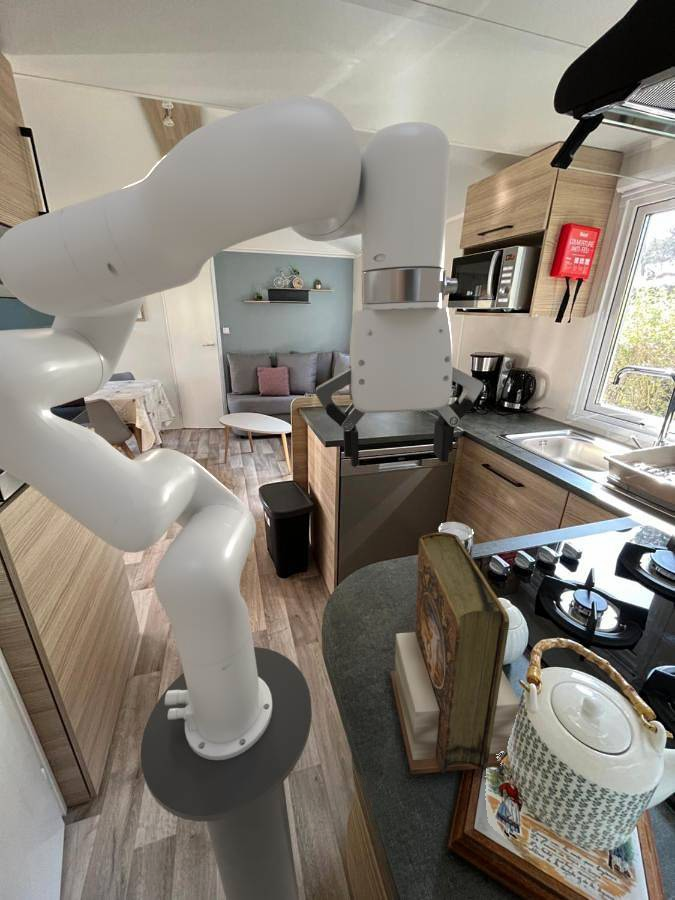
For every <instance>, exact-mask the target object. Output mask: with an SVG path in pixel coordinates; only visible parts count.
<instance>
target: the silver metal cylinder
mask: <svg viewBox="0 0 675 900" xmlns="http://www.w3.org/2000/svg"><path fill="white" fill-rule="evenodd" d="M437 532H444V533H451V534H454V535H457V536H458V537H459V539H460V540H461V542H462V543H463V545H464V547H465V548H466V550H467V551H468V553H469V554H470V556H471V557H472V558H473V549H474V531H473V529H472V528H471V527H470V526H469V525H467V524H464V523H462V522H458V521H446V522H442V523H441V524H439V526H438V527H437Z"/></svg>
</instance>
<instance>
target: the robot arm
mask: <svg viewBox="0 0 675 900" xmlns="http://www.w3.org/2000/svg"><path fill="white" fill-rule="evenodd" d="M450 164H451V145H450V142H449V139H448V136H447V134H446V133H445V132H444V130H442V129H441V128H440V127H438V126H437V125H435V124H432V123H427V122H419V121H408V122H400V123H396V124H391V125H389V126H385V127H383V128H381V129H378V130H377V131H375V132H374V133H373V134H372V135H371V136H370V137H369V138H368V139H367V141H366V142H365V143H364V146H363V148H362V150H361V147H360V143H359V139H358V137H357V134H356V132H355V130H354V127H353V125H352V124H351V122H350V121H349V119H348V118H347V117H346V115H344V113H343V112H342V111H341V110H339V108H337V107H336V106H335V105H334V104H333V103H331V102H329V101H326V100H324V99H323V98H318V97H312V96H308V95H306V96H305V95H302V96H301V95H298V96H297V95H295V96H287V97H281V98H277V99H274V100H273V99H272V100H270V101H266V102H263V103H261V104H257V105H255V106H251V107H248V108H245V109H244V110H239V111H237V112H234V113H231V114H228V115H226V116H222V117H220V118H218V119H215V120H212V121H211V122H208V123H206V124H204V125H202V126H200V127H199V128H196V129H195V130H193V131H192V132H190V133H189V134H187V135H186V136H184V137H183V138H182V139H181V140H180V141H179V142H178V143H176V144H175V145H174V146H173V147H172V148H171V149H170V151H168V152H167V153H166V154H165V156H163V157H162V158H161V159H160V160H159V161H158V162H157V163H156V164H155V165H154V166H153V167H152V169H150V172H149V173H148V174H147V175H146V176H145V177H144V178H143V179H142V180H139V181H137V182H135V183H132V184H129V185H127V186H124V187H120V188H118V189H115V190H112V191H109V192H107V193H106V192H105V193H104V194H101V195H98V196H95V197H92V198H89V199H86V200H83V201H79V202H77V203H74V204H71V205H68V206H65V207H62V208H59V209H56V210H53V211H50V212H47V213H45V214H42V215H39V216H38V215H37V216H36V217H33V218H30V219H27V220H25V221H24V220H23V221H22V222H20V223H18V224H16V225H14V226H12V227H11V228H9V229H8V230H6V231H5V232H4V234H3V235H2V236H1V237H0V280H1V282H2V284H3V285H4V286H5V288H6V289H7V290H8V291H9V292H10V294H12V295H13V297H15V298H16V299H18V300H19V301H20V302H21V303H23V304H24V305H26V306H27V307H29V308H30V309H33V310H35V311H37V312H39V313H41V314H46V315H48V316H49V315H50V316H54V318H53V319H54V320H53V322H52V324H51V327H42V328H41V327H40V328H24V329H23V328H22V329H20V328H19V329H5V330H4V329H3V330H0V470H2V471H4V472H6V473H8V474H10V475H11V476H13V477H15V478H17V479H18V480H20V481H22V482H24V483H25V484H27V485H29V486H30V487H31V488H33V489H34V490H36V491H37V492H38V493H40V494H41V495H42V496H44V497H45V498H46V500H48V501H49V502H50V503H52V504H53V505H55V506H56V507H57V508H59V509H60V510H61V511H63V512H64V513H66V514H67V515H68V516H69V517H71V518H72V519H73V520H75V521H76V522H78V523H79V524H80V525H81V526H83V527H84V528H86V529H87V530H88V531H89V532H90V533H92V534H93V535H95V536H96V537H97V538H99V539H100V540H102V542H105V543H106V544H108V545H109V546H111V547H113V548H114V549H116V550H118V551H122V552H124V553H134V554H135V553H140V552H144V551H146V550H147V549H150V548H151V547H153V545H155V544H156V543H157V542H158V541H160V540H161V539H162V537H163V536H164V535H166V533H167V532H168V531H169V529H170V528H171V527H172V526H173V525H174V524H175V523H176V524H177V525H178V526H180V527H181V530H180V531H179V532H178V533H177V535H176V536H175V538H174V539H172V541H171V543H170V544H169V546H168V547H167V548H166V550H165V551H164V552H163V555H162V556H161V558H160V559H159V563H158V565H157V567H156V570H155V575H154V580H153V581H154V583H153V584H154V585H153V586H154V590H155V595H156V597H157V600H158V601H159V604H160V605H161V607H162V608H163V611H164V612H165V614H166V616H167V618H168V620H169V623H170V626H171V628H172V632H173V635H174V640H175V643H176V647H177V652H178V655H179V660H180V663H181V667H182V672H183V673H184V676H185V680H186V685H187V689H188V690H169V691H167V693H166V696H165V705H166V706H169V705H179V704H186V705H187V706H186V707H185V708H170V709H169V711H168V720H174V719H180V718H184V720H185V734H186V738H187V741H188V743H189V746H190V747H191V748H192V750H193V751H194V752H195V753H196V754H198V755H199V756H200V757H203V758H206V759H209V760H225V759H229V758H233V757H235V756H237V755H239V754H241V753H243V752H245V751H246V750H248V749H249V748H250V747H252V746H253V745H254V744H255V743H256V742H257V741H258V740H259V739H260V737H261V736H262V735H263V733H264V732H265V730H266V728H267V726H268V724H269V721H270V718H271V714H272V697H271V693H270V690H269V688H268V686H267V685H266V683H265V682H264V681H263V680H262V679H261V678H259V677H258V673H257V666H256V659H255V652H254V647H255V646H254V645H255V644H254V638H253V632H252V625H251V620H250V612H249V608H248V605H247V603H246V600H245V599H244V598H243V596H242V594H241V588H240V586H241V585H240V583H241V578H242V573H243V570H244V567H245V565H246V563H247V559H248V557H249V554H250V552H251V549H252V547H253V545H254V541H255V539H256V534H257V524H256V519H255V517H254V515H253V513H252V511H251V510H250V508H249V507H248V506H247V505H246V504H245V503H244V502H243V501H242V500H241V499H240V498H239V497H238V496H237V495H236V494H235V493H233V492H232V491H231V490H230V489H229V488H227V486H225V485H224V484H223V483H222V482H221V481H219V480H218V479H217V478H216V477H215V476H214V475H213V474H211V472H209V471H208V470H207V469H206V468H204V466H202V465H201V464H200V463H198V462H197V461H196V460H194V459H193V458H191V457H190V456H188V455H187V454H185V453H183V452H181V451H178V450H176V449H171V448H163V447H161V448H160V447H159V448H153V449H149V450H147V451H144V452H142V453H140V454H139V455H137V456H136V457H134V458H133V459H131V458H129V457H127V456H126V455H124V454H123V453H122V452H121V451H119V450H118V449H116V448H115V447H114V446H113V445H112V444H110V443H109V442H108V441H107V440H106V439H105V438H104V437H102V436H101V435H100V434H98V433H97V432H95V431H94V430H91V429H90V428H88V427H85V426H83V425H81V424H78V423H76V422H74V421H71V420H68V419H65V418H63V417H60V416H58V415H56V414H54V413H53V412H52V411H51V409H52V408H54V407H55V408H56V407H58V406H61V405H64V404H67V403H71V402H73V401H76V400H79V399H83V398H87V397H89V396H91V395H93V394H96V393H98V391H100V390H102V389H103V388H104V387H105V386H106V384H108V382H110V380H111V378H112V377H113V375H114V373H115V371H116V369H117V367H118V364H119V362H120V359H121V357H122V355H123V352H124V350H125V348H126V346H127V343H128V341H129V338H130V336H131V334H132V332H133V330H134V327H135V324H136V322H137V319H138V317H139V314H140V312H141V309H142V306H143V303H144V299H145V297H148V296H151V295H155V294H157V293H162V292H165V291H168V290H171V289H174V288H175V289H176V288H179V287H183V286H185V285H188V284H190V283H192V282H193V281H195V280H196V279H198V277H199V275H200V273H201V271H202V269H203V267H204V266H205V264H206V263H207V262H208V261H209V260H210V259H212V258H213V257H214V256H216V255H218V254H219V253H221V252H223V251H224V250H226V249H229V248H231V247H234V246H236V245H238V244H241V243H244V242H246V241H250V240H252V239H255V238H258V237H261V236H264V235H268V234H271V233H274V232H277V231H280V230H283V229H287V228H291V229H292V230H293V231H294V232H295V233H296V234H297V235H299V236H301V237H302V238H304V239H307V240H309V241H313V242H330V241H335V240H339V239H345V238H350V237H354V236H355V237H356V236H359V235H360V236H361V309H357V310H355V309H354V310H353V315H352V320H351V329H350V336H349V337H350V339H349V357H348V369H345V370H343V371H342V372H340V373H339V374H337V375H335V376H333V377H332V378H330V379H328V380H326V381H324V382H323V383H321V384H319V385H318V386H316V388H315V395H316V398H317V399H318V401H319V402H320V405H321V406H322V408H323V409H324V411H325V413H326V415H327V416H328V417H329V418H330V419H332V420H333V422H335V423H336V424H337V425H338V426H340V427H341V429H342V430H343V431H342V432H343V454H344V456H343V457H344V458H349V460H350V464H351V467H352V468H357V467H358V466H359V465H360V452H359V449H360V448H359V447H360V446H359V445H360V443H359V442H360V441H359V439H360V438H359V431H358V426H357V425H358V423H359V422H360V421H361V419H362V418H364V416H365V414H366V413H367V414H379V413H380V414H381V413H382V414H383V413H405V412H424V411H435V413H436V414H437V415H438V418H437V419H435V421H434V430H433V445H432V446H433V448H432V452H433V455H435V457H436V458H437V459H438V460H439V461H440V462H441V463H448V462H449V453H451V452H453V449H454V436H455V427H457V426H458V425H459V424H460V420H461V419H462V418H463V417H464V416H465V415H466V414H467V413H468V412H470V410H472V408H473V406H474V403H475V401H476V400H477V398H478V396H479V395H480V393H481V392H482V390H483V389H484V382H483V381H481V380H480V379H478V378H476V377H473V376H472V375H469V374H467V373H466V372H463V371H462V370H459V368H458V369H457V368H456V367H454V366H453V342H452V331H451V321H450V313H449V307H448V306H447V307H446V306H445V307H442V301H444V300H445V297H446V296H448V295H449V294H455V293H457V291H458V287H459V286H458V278H455V277H454V278H450V276H447V274H446V271H447V270H446V269H444V265H445V249H446V231H447V229H446V228H447V213H448V197H449V182H450V181H449V180H450ZM453 382H454V383H456V384H458V385H460V386H461V387H462V391H461V394H460V396H459V397H457V398H456V399H455V401H453V402H452V403H451V404H449V403H450V401H451V397H452V390H453V389H452V388H453ZM347 386H348V394H349V399H350V401H352V402H351V403H350V404H349V405H348V407H346V409H345V410H344V409H342V408H341V406H339V405H338V404H336V402H335V400H334V398H333V395H334V394H335V393H337V392H339V391H340V390H342V389H344V388H345V387H347Z"/></svg>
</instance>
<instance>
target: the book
mask: <svg viewBox="0 0 675 900" xmlns="http://www.w3.org/2000/svg"><path fill="white" fill-rule="evenodd" d="M417 559H418V560H417V575H416V576H417V577H416V593H415V594H416V596H415V614H414V616H415V617H414V632H415V633H416V636H417V639H418V642H419V645H420V648H421V652H422V655H423V658H424V661H425V664H426V668H427V671H428V674H429V677H430V680H431V684H432V687H433V690H434V693H435V696H436V700H437V703H438V706H439V709H440V713H439V725H438V736H437V748H436V757H437V760H438V764H439V767H440V771H441V772H440V773H441V775H442V774H443V775H444V774H445V775H446V773H447V771H446V770H447V767H448V766H449V765H451V764H453V763H457V762H463V763H469V764H472V765H475V766H477V767H479V768H480V770H481V771H486V770H487V769H488V768H487V764H488V758H489V752H490V745H491V739H492V732H493V726H494V719H495V713H496V707H497V700H498V694H499V687H500V681H501V674H502V670H503V666H504V660H505V656H506V655H505V654H506V647H507V643H508V642H507V641H508V636H509V635H508V634H509V628H510V616H509V615H508V612H507V610H506V609H505V607H504V606H503V604H502V603H501V601H500V600H499V598H498V597H497V595H496V593H495V592H494V591H493V589H492V587H491V586H490V583H488V580H487V579H486V578H485V576H484V575H483V573H482V571H481V570H480V568H479V567H478V565H477V563H476V562H475V560H474V559H473V556H472V557H471V556H470V554H469V553H468V551H467V550H466V548H465V547H464V545H463V543H462V542H461V540H460V539H459V537H458V536H457V535H454V534H451V533H444V532H438V531H437V532H436V531H435V532H428V533H425V534H423V535H421V536H420V537H419V538H418V555H417Z"/></svg>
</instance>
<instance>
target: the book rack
mask: <svg viewBox="0 0 675 900" xmlns="http://www.w3.org/2000/svg"><path fill="white" fill-rule="evenodd" d="M394 655H395V656H394V670H393V671H390V673H389V674H390V676H389V677H390V681H391V687H392V691H393V696H394V700H395V705H396V710H397V715H398V720H399V724H400V725H399V726H400V730H401V734H402V740H403V744H404V748H405V749H404V750H405V754H406V758H407V763H408V768H409V773H410V775H419V774H433V773H441V771H440V767H439V764H438V760H437V757H436V748H437V736H438V725H439V713H440V709H439V706H438V703H437V700H436V696H435V693H434V690H433V687H432V684H431V680H430V677H429V674H428V671H427V668H426V664H425V661H424V658H423V655H422V652H421V648H420V645H419V642H418V639H417V636H416V633H415V631H414V632H413V631H411V632H399V633H395V654H394ZM519 703H520V701H519V699H518V697H517V695H516V693H515V691H514V689H513V687H512V686H511V684H510V682H509V679H508V678H507V675H506V674H505V672H504V670H503V669H502V674H501V681H500V687H499V694H498V700H497V707H496V713H495V719H494V726H493V732H492V739H491V745H490V752H489V758H488V764H487V768H486V769H489V768H491V769H492V768H500V767H501V766H500V765H501V764H500V763H501V761H497V760H498V759H499V758H498V759H497V758H496V757H497V756H499V755H500V754H501V755H502V753H500V752H501V751H506V750H507V746H508V741H509V738H510V735H511V731H512V728H513V726H514V723H515V719H516V715H517V712H518V707H519ZM519 708H520V707H519ZM518 713H519V712H518ZM499 753H500V754H499ZM496 754H499V755H496ZM501 755H500V756H499V757H501ZM501 758H502V757H501ZM501 768H502V767H501ZM478 769H479V770H481V768H479V767H477V766H475V765H472V764H469V763H463V762H457V763H453V764H451V765H449V766H448V767H447V770H446V772H453V771H454V772H455V771H456V772H457V771H467V770H478Z"/></svg>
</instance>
